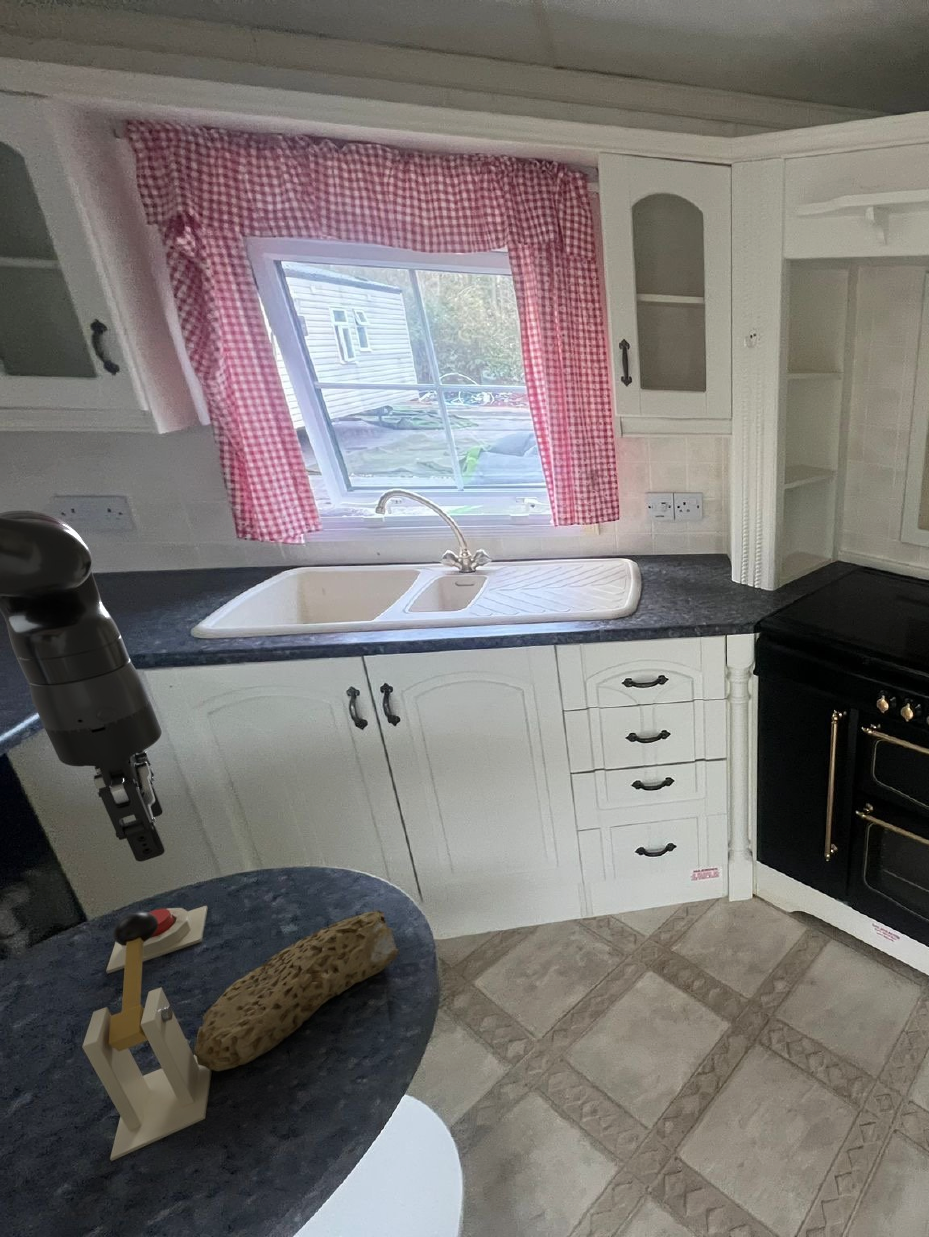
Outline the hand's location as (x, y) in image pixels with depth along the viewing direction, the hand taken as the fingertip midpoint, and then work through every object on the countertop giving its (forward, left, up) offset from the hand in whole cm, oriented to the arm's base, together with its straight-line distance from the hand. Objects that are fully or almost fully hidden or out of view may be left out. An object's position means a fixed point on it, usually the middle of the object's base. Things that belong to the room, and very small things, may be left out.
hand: (151, 836), depth 73 cm
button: (-7, +14, -22) cm, 27 cm away
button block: (-7, +14, -25) cm, 30 cm away
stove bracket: (-3, -14, -25) cm, 29 cm away
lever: (-3, -8, -12) cm, 15 cm away
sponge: (+9, -7, -25) cm, 28 cm away
